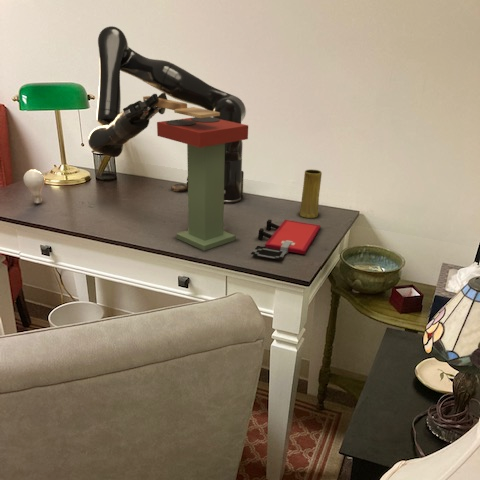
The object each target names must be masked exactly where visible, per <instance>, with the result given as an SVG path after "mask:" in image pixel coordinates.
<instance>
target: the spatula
mask: <svg viewBox="0 0 480 480" xmlns="http://www.w3.org/2000/svg"><path fill="white" fill-rule="evenodd" d="M151 96H152V95H151ZM151 96H150V95H146V96H142V101H144V100H145V99H148V98H149V97H151ZM158 99H159V102H158V103H157V104H155V105H154V106H156V107H161V108H166V109H165V110H172V111H173V112H174V114H180V115H184V116H189V117H191V118H194V117H197V118H207V117H214V116H220V112H215V111H210V110H206V109H204V108H202V107H195V106H190V107H188V103H186V102H183V101H178V100H177V101H176V100H171V99H168V98H167V99H162V98H158Z"/></svg>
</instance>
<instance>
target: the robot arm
mask: <svg viewBox="0 0 480 480" xmlns="http://www.w3.org/2000/svg"><path fill="white" fill-rule="evenodd" d="M97 46H98V56H99V83H98V84H99V85H98V97H97V98H98V99H97V108H96V121H97V123H98V124H99V125H100V126H97V127H96V128H94V129H93V130H92V131H91V132H90V133H89V136H88V141H87V143H88V146H89V148H90V150H92V152H95V153H99V154H101V155H104V156H108V157H111V158H118V157H119V156H120V155H121V154H122V153H123V150H124V145H125V144H127V143H128V142H129V141H130V140H132V139H134V138H135V137H136V136H138V135H139V134H140V133H142V132H144V130H145V129H147V128H148V126H149V124H150V120H151V119H153V117H154V116H155V115H156V114H157V113H158V114H160V115H164V114H165V113H166V110H167V109H166V108H161V107H157V106H154V105H155V104H157V103H158V102H159V99H158V98H162V99H167V100H168V97H171V98H173V99H175V100H177V101H179V102H182V103H187V104H189V105H194V106H197V107H199V108H201V109H206V110H210V111H215V112H220V116H214V118H218V119H221V120H226V121H230V122H235V123H240V124H242V122H243V121H244V119H245V117H246V115H247V108H246V104H245V103H244V102H243V100H242V99H241V98H240V97H238V96H236V95H234V94H231V93H228V92H226V91H223V90H221V89H219V88H216V87H214V86H212V85H211V84H208V83H207V82H205V81H204V80H202V79H201V78H199V77H197V76H196V75H194V74H192V73H190V72H188V71H187V70H186V69H184V68H182V67H180V66H179V65H177V64H174V63H172V62H170V61H168V60H163V59H155V58H154V59H153V58H148V57H145V56H144V55H142V54H140V53H138V52H137V51H135V50H133V49H132V48H131V47H130V46H129V43H128V39H127V37H126V35H125V33H124V32H123V31H122V30H121V29H120V28H119V27H116V26H113V25H111V26H110V25H109V26H106V27H104V28H102V30H101V31H100V32H99V34H98V37H97ZM121 72H122V73H125V74H128V75H130V76H132V77H135V78H136V79H138V80H140V81H142V82H143V83H145V84H147V85H149V86H151V87H152V88H154V89H156V90H158V91H159V92H161V94H159V95H158V94H157V93H152V95H151V97H149V98H148V99H145V100H144V101H143V100H137V101H136V102H134V103H131V104H128V105H127V106H126V107H124V108H122V111H121V107H122V106H121V104H122V94H121ZM167 96H168V97H167ZM243 145H244V144H243V140H240V141H234V142H229V143H225V165H224V204H233V203H238V202H240V201H242V199H243V198H244V197H243V196H244V170H243V147H244V146H243Z"/></svg>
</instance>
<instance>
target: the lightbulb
mask: <svg viewBox="0 0 480 480" xmlns="http://www.w3.org/2000/svg"><path fill="white" fill-rule="evenodd" d="M22 179H23V183H24V186H25V187H26V188H27V189H28V190H29V191H30V194H31V196H32V202H33V203H34V204H36V205H40V204H41V203H42V202H43V200H42V190H43V188H44V185H45V180H46V179H45V176H44V174H43V173H42V172H41V171H39V170H37V169H29V170H27V171H26V172H25V173H24V175H23V177H22Z"/></svg>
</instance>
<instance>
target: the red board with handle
mask: <svg viewBox="0 0 480 480" xmlns="http://www.w3.org/2000/svg"><path fill="white" fill-rule="evenodd" d="M272 221H273V220H272V219H267V220H266V226H265V228H263V227H261V228H259V229H258V236H257V239H258V240H259V241H261V240H263V238H264V237H265V238H267V239H268V240H267V241H266V242H265V245H264V246H262V245H257V246H256V247H255V248H254V249H253V250H252V252H250V255H254V256H258V257H263V258H269V259H276V260H282V259H283V258H284V257H285V255H287V254H289V252H290V253H294V254H295V253H296V254H300V255H306V253H307V251H308V249H309V248H310V246H311V244H312V243H313V242H314V240H315V238H316V236H317V234H318V233H319V231H320V230H321V224H320V225H319V224H313V223H307V222H301V221H296V220H288V219H284V221H283V222H282V223H281V224H280V225H278V224H276V223H273V222H272ZM272 228H273V229H275V231H274V232H273V234H270V233H269V232H266V231H270V230H271V229H272ZM265 230H266V231H265Z"/></svg>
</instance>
